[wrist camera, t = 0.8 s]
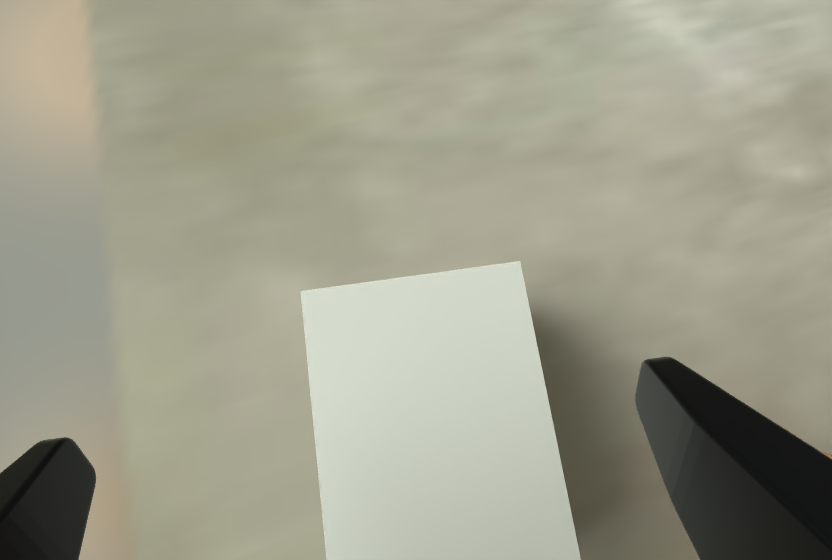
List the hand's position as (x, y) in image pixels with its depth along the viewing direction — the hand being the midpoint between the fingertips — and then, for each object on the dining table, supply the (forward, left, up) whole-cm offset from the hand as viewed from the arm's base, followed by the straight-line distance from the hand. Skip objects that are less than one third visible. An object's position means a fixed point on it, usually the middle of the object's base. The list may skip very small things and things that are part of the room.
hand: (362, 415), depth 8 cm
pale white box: (-1, -2, -15) cm, 16 cm away
